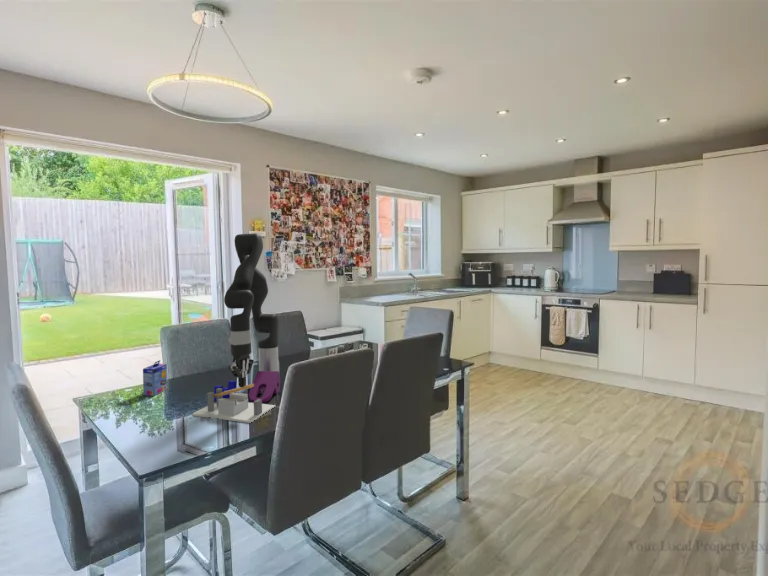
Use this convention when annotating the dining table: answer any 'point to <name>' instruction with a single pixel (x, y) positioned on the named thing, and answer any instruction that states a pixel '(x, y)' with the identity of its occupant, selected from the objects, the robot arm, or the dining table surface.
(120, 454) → the dining table surface
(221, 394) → the wooden strip
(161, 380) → the ink cartridge box
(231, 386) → the cable clip
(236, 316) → the robot arm
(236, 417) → the board
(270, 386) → the mounting bracket
